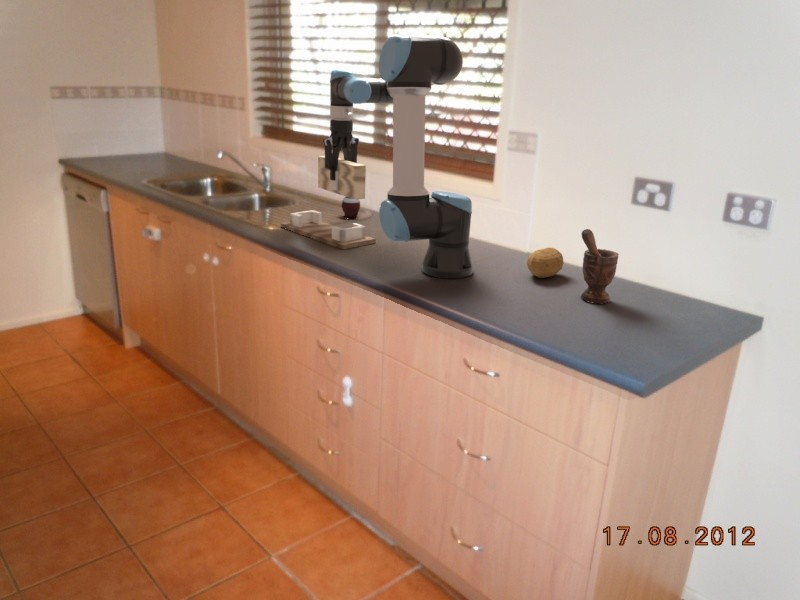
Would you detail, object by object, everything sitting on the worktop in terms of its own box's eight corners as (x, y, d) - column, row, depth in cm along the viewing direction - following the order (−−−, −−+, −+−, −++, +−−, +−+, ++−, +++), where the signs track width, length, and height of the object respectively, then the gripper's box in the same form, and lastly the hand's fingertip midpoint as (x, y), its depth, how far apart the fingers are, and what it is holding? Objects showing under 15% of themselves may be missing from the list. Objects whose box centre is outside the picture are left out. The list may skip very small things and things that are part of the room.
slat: (364, 198, 221) (365, 165, 218) (354, 199, 219) (355, 166, 215) (328, 186, 239) (328, 155, 236) (318, 187, 237) (318, 156, 233)
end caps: (365, 237, 224) (365, 226, 223) (342, 242, 218) (342, 230, 216) (312, 220, 245) (312, 210, 243) (290, 224, 238) (290, 213, 237)
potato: (516, 278, 194) (518, 251, 191) (538, 268, 204) (541, 243, 201) (546, 285, 188) (549, 258, 185) (568, 275, 198) (571, 249, 196)
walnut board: (375, 243, 224) (375, 238, 224) (342, 249, 215) (343, 245, 214) (312, 222, 249) (312, 218, 248) (280, 227, 239) (280, 223, 239)
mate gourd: (352, 220, 254) (353, 181, 249) (336, 217, 258) (336, 179, 253) (363, 217, 260) (364, 179, 255) (347, 214, 264) (348, 176, 259)
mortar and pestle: (598, 310, 170) (610, 234, 163) (567, 302, 175) (577, 228, 168) (616, 300, 178) (627, 227, 172) (585, 292, 183) (595, 221, 177)
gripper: (326, 120, 213) (326, 193, 221) (368, 119, 224) (367, 188, 232) (313, 118, 218) (313, 189, 226) (355, 117, 229) (354, 185, 237)
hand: (340, 189), depth 229 cm, fingers closed on slat, 4 cm apart
